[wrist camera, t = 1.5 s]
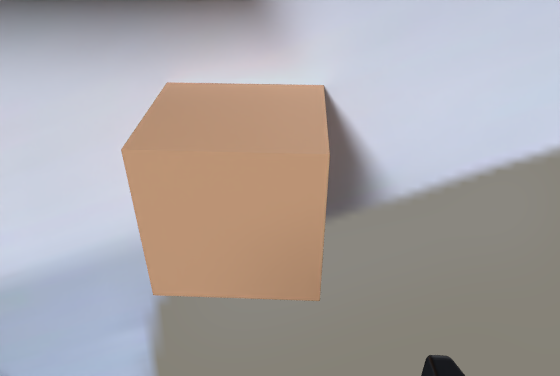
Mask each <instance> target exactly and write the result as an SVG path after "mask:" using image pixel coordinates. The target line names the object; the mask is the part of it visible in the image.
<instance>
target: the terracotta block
mask: <svg viewBox="0 0 560 376" xmlns="http://www.w3.org/2000/svg"><path fill="white" fill-rule="evenodd" d="M121 151H122V156H123V160H124V165H125V169H126V174H127V178H128V183H129V187H130V192H131V196H132V201H133V205H134V210H135V214H136V219H137V223H138V228H139V232H140V237H141V242H142V246H143V251H144V255H145V260H146V264H147V269H148V273H149V278H150V282H151V287H152V291H153V295H162V296H191V297H192V296H193V297H220V298H222V297H223V298H251V299H280V300H308V301H310V300H311V301H320V289H321V275H322V260H323V246H324V232H325V217H326V202H327V188H328V173H329V159H330V151H329V140H328V128H327V117H326V106H325V94H324V85H282V84H222V83H166V85H165V86H164V88H163V89H162V91H161V92H160V93H159V95H158V96H157V98H156V99H155V101H154V102H153V104H152V105H151V107H150V108H149V110H148V111H147V113H146V114H145V116H144V117H143V118H142V120H141V121H140V123H139V124H138V126H137V127H136V129H135V130H134V132H133V133H132V135H131V136H130V138H129V139H128V140H127V142H126V143H125V145H124V146H123V148H122V149H121Z"/></svg>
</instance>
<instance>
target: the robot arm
mask: <svg viewBox="0 0 560 376" xmlns="http://www.w3.org/2000/svg"><path fill="white" fill-rule="evenodd" d="M421 376H465V375H464V374H463V373H462V371H461V370H460V369H459V367H458V366H457V365H456V364H455V362H454V361H453V360H452V359H451V358H450V357H448V356H440V355H429V356H428V357H427V358H426V361H425V365H424V368H423V371H422V375H421Z"/></svg>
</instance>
